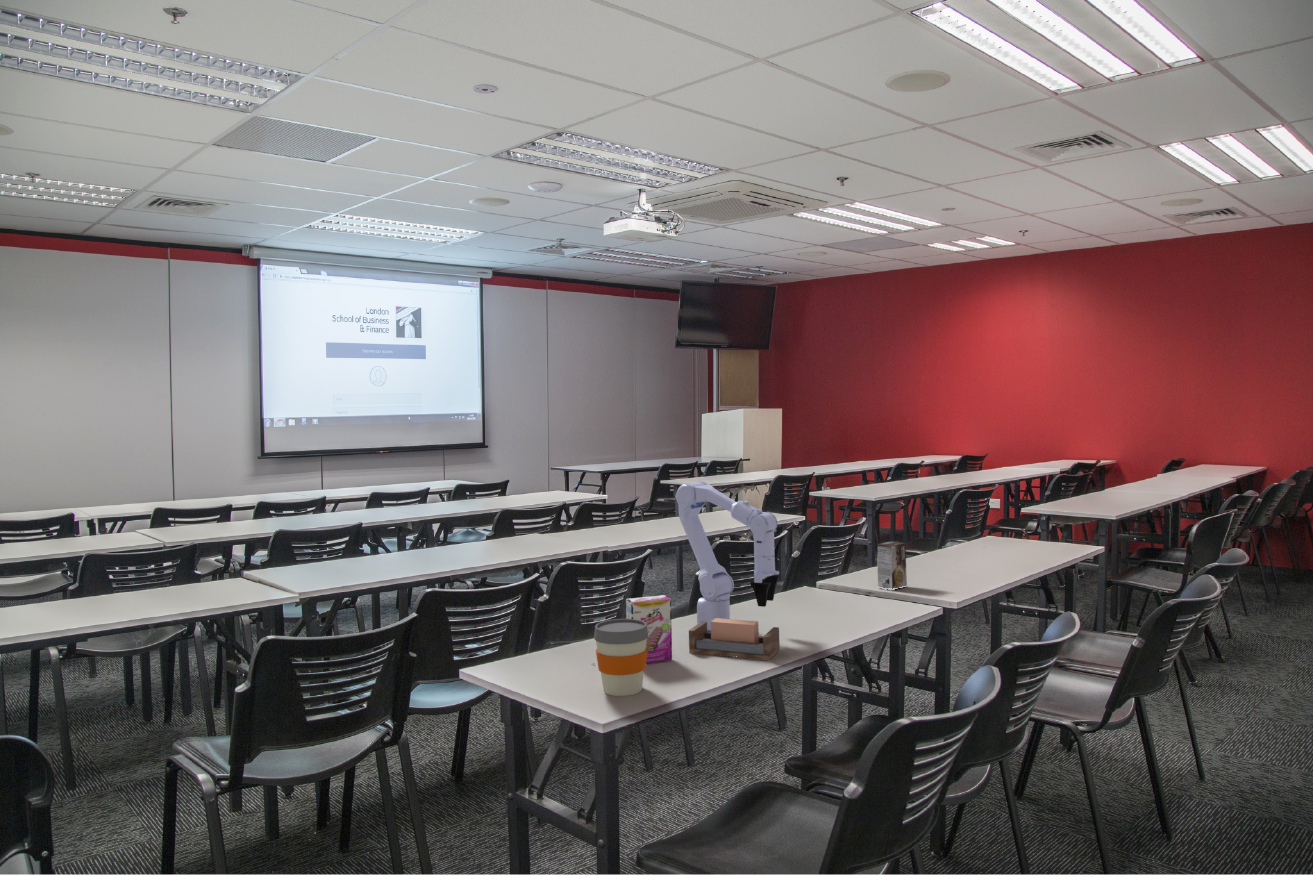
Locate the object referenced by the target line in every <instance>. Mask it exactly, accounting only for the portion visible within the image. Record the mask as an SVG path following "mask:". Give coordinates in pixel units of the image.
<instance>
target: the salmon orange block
mask: <svg viewBox="0 0 1313 875" xmlns="http://www.w3.org/2000/svg"><path fill="white" fill-rule="evenodd" d="M710 632H711V639H714V640H725V641H737V642H748V643H759V636H760V635H759V634H760V632H759V621H758V620H757V621H756V620H746V619H745V620H743V619H732V618H730V619H720V618H715V619H714V620H712V621H711V631H710Z"/></svg>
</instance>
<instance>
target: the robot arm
mask: <svg viewBox="0 0 1313 875" xmlns="http://www.w3.org/2000/svg"><path fill="white" fill-rule="evenodd" d="M674 498H675V499H676V502H677V506H678V507H677V508H678V509H677V510H678V517H679V520H680V522H681V525H682V527H683V530H684V532H685V534H686V537H687V539H688V542H689V545H690V547H691V550H692V552H693V554H694V557H695V560H696V561H697V564H698V567H699V569H700V573H699V575H698V577H697V578H698V582H699V590H700V593H701V595H702V597H700V598H699V599H698V601H697V604H696V622H697V624H699V623H700V622H702V621H703V622H707V632H711V621H712V620H714V619H715V618H720V619H731V606H730V602H731V601H730V597H731V593H732V592H733V590H734V587H735V586H734V585H735V584H734V579H733V578H732V576H730V574H729V573H728V572H727V570H726V568H725V567H724V566H722V565H720V563H718V560H717V558H716V556H715V552H714V551H713V548H712V547H711V546H712V545H711V543H710V541H709V539H708V537H707V534H706V531H705V528H704V527H703V524H702V522H701V519H700V516H699V515H700V512H701V510H702V509H703V507H704V506H705V505H706V503H711V504H713V505H715V506H717V507H719V508H721V509H723V510H725V511H727V512H730V515H731V518H733V520H736V521H737V522H740V523H741V524H742V525H744V526H746V527H748V528H749V530H750V531H751V532H752V538H753V548H754V549H753V555H754V560H753V561H754V571H753V573H754V574H753V580H750V582H749V584H750V587H751V588H752V589H753V590H752V591H753V593H754V596H755V599H756V603H757V604H756V605H757V607H762V608H763V607H764V608H765V607H767V603H768V602H767V601H769V602H770V601H771V602H773V601H774V598H775V592H776V588H777V585H778V581H779V580H780V571H779V570H776V561H775V559H776V558H775V556H776V555H775V530H776V529H777V527H778V519H777V517H776V516H775V515H774V513H772V512H771V511H766V512H765V511H764V512H763V510H762V508H757V507H755V506H753V505H751V504H750V501H748V500H737V501H735V500H733V499H732V498H730V497H729V496H727V494H724V493H722V492H720V490H717V489H715V487H714V486H713V485H710V484H708V483H706V482H705V481H698V482H694V483H693V482H692V483H683V484H681V485H680V486H679V487H678V489H677V491H676V493H675V497H674ZM697 624H696V625H697Z"/></svg>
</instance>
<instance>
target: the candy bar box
mask: <svg viewBox="0 0 1313 875" xmlns="http://www.w3.org/2000/svg"><path fill="white" fill-rule="evenodd" d="M625 608H626V609H625V619H636V620H641V621H644V622H646V624H647V630H648V638H647V642H646V647H647V648H648V650H647V661H646V665H647V664H654V663H655V664H656V663H660V662H661V663H663V662H669V661H672V660H673V638H672V636H673V634H672V633H673V632H672V631H673V630H672V598H671V597H669V596H667V595H666V594H663V595H662V594H661V595H653V596H651V595H650V596H642V597H641V596H640V597H632V598H630V597H629V598H626V599H625Z"/></svg>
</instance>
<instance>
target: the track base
mask: <svg viewBox="0 0 1313 875" xmlns="http://www.w3.org/2000/svg"><path fill="white" fill-rule="evenodd" d="M780 648H781V647H780V627H779V626H778V627H775V626H773V627H772V628H771V629H769V630H768V631H767V633H766V634H764V635H759V643H748V642H737V641H725V640H714V639H711V631H708V630H707V622H703V621H702V622H700V623H699V624H696V625H695V626H693V627H691V628H689V630H688V650H689V651H688V653H689V654H697V655H698V654H699V655H707V654H710V655H709V656H718V655H719V657H728V656H735V657H734V658H738V657H741V658H740V659H749V658H751V659H752V660H761V661H770V660H771V659H772V658H773V657H774V656H775V655H776V654H777V653H778V652H779V651H780ZM711 654H712V655H711ZM720 655H721V656H720ZM736 656H737V657H736ZM751 659H750V660H751Z"/></svg>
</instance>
